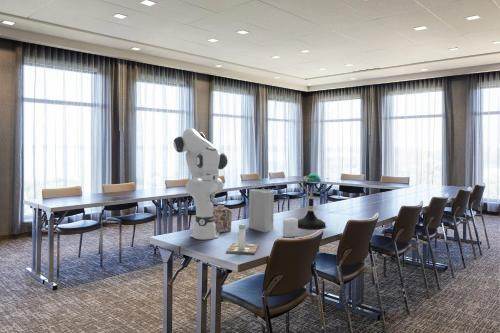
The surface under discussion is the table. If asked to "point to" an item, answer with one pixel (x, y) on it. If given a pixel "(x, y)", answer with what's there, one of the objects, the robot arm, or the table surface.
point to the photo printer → (290, 227)
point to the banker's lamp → (310, 218)
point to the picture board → (249, 249)
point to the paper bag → (261, 209)
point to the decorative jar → (222, 218)
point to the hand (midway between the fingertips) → (210, 200)
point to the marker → (241, 236)
